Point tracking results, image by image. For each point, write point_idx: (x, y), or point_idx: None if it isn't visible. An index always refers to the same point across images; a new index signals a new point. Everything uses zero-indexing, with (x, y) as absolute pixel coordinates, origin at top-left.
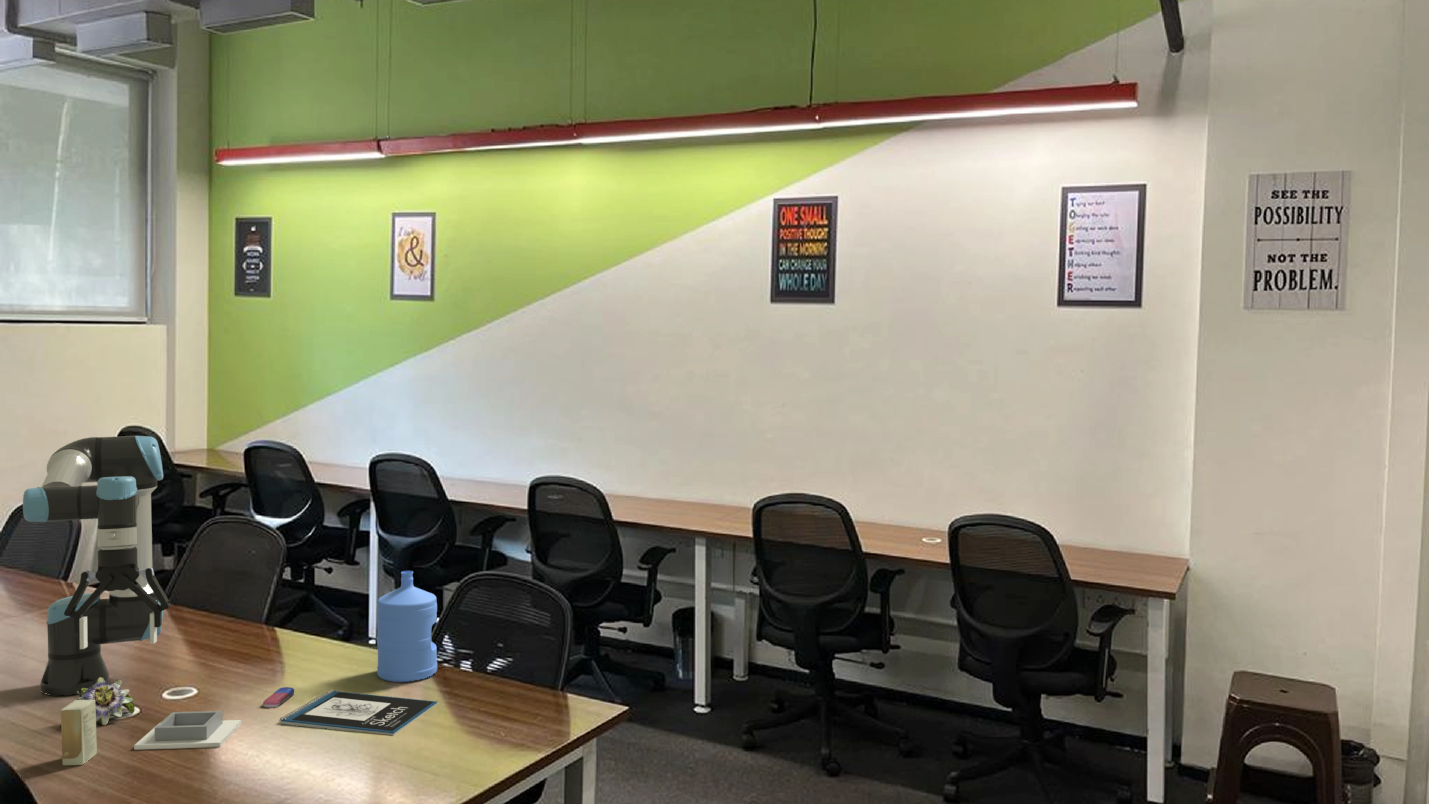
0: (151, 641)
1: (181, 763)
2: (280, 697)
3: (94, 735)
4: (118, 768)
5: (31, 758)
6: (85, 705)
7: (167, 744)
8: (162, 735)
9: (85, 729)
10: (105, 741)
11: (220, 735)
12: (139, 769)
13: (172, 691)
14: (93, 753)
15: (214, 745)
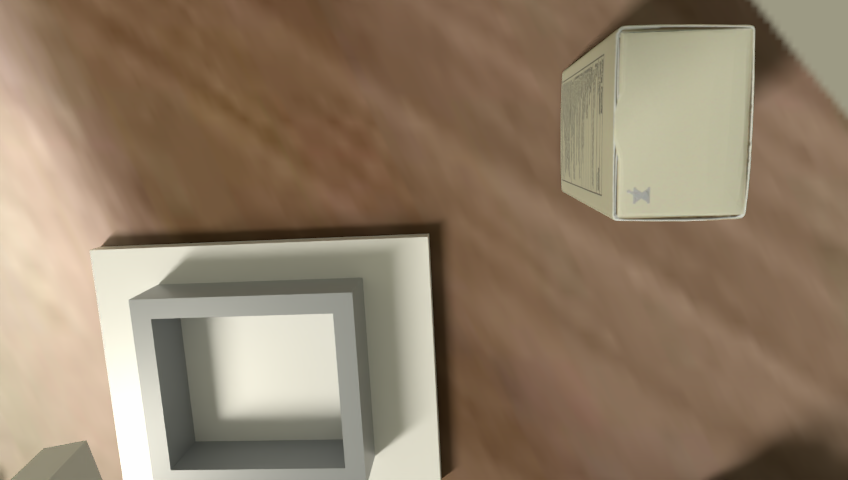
0: (53, 462)
1: (169, 80)
2: None
3: (574, 178)
4: (397, 33)
5: (822, 155)
6: (626, 109)
7: (294, 241)
8: (325, 284)
9: (586, 86)
10: (592, 331)
11: (125, 327)
12: (306, 20)
13: None
14: (562, 159)
15: (117, 247)
